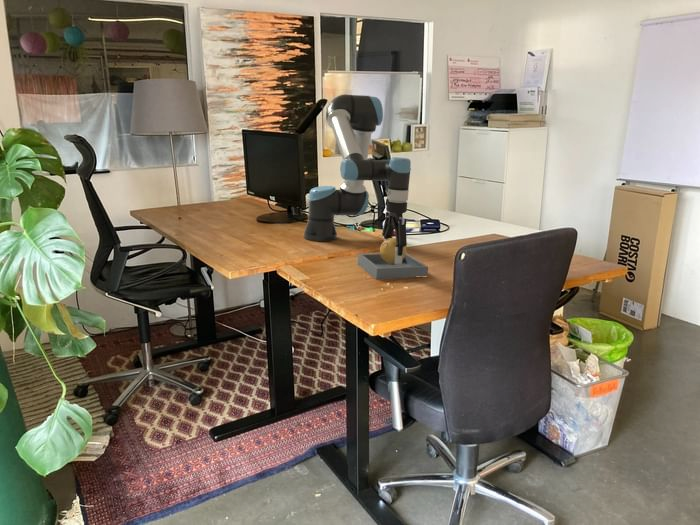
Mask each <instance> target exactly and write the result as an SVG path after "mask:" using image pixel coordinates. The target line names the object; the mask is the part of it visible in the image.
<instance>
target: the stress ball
mask: <svg viewBox="0 0 700 525" xmlns="http://www.w3.org/2000/svg"><path fill="white" fill-rule="evenodd" d="M396 245H397V242H396V237H392V238H388V239H386V240H385V241H384V240H383V242H381V244H380V248H379V253H380V255H381V257H382V259H383V260H384V261H385V262H387V263H388V264H390V265H396V264H394V260H395V248H396V247H395V246H396ZM406 253H407V246H404V247H403V256H402V260H403V259H404V258H405V256H406Z"/></svg>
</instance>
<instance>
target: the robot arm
mask: <svg viewBox="0 0 700 525" xmlns="http://www.w3.org/2000/svg"><path fill="white" fill-rule="evenodd" d="M382 105H383V104H382V101H381V100H380V99H379V98H378V97H376V96H371V95H362V94H361V95H359V94H358V95H357V94H346V93H345V94H340V95H338V96H336V97H334V98H333V99H332V100H331V101H330V103H329V104H328V106H327V107H326V111H325V119H326V122H327V125H328V126H329V128H330V129H332V132H333V135H334V138H335V141H336V144H337V146H338V149H339V152H340V155H341V158H342V161H341V162H340V167H339V168H340V169H339V170H340V171H339V172H340V177H341V178H342V179H343V180H344V181H343V182H342V183H341V184H340V187H339V189H337V188H336V186H333V185H321V186H316V187H313V188H311V189H310V190H309V195H308V214H307V215H308V216H307V217H308V220H307V223H306V226H305V228H304V231H303V238H304V239H306V240H308V241H314V242H333V241H336V240H337V239H338V233H337V230H336V225H335V221H334V220H335V216H352V217H354V216H362V215H363V214H364V213H366V211H367V209H368V206H369V202H370V199H369V198H370V196H369V191H367V188H366V186H365V185H364V181H371V182H372V181H377V182H379V181H380V182H387V191H386V195H387V196H386V197H387V198H386V199H387V201H386V209H385V210H386V212H385V219H384V223H383V228H382V233H381V236H383V239H384V240H383V242H384V241H385V240H386V239H388V238H393V236H392V233H393V231H395V235H396V236H395V238H396V242H397V245H396V246H395V247H396V248H395V260H394V264H402V256H403V247H404V246H406V247H407V243H408V242H407V241H408V240H407V218H404V217H403V216H404V215H403V214H405V213H407V212H408V202H407V201H408V200H409V186H410V179H411V178H410V177H411V171H412V169H411V159H410V158H406V157H398V156H394V157H393V156H392V157H391V158H390V159H380V160H379V159H377V160H376V159H368V156H369V153H370V152H369V150H370V145H371V139H372V134H373V133H375V132H376V130H377V127H378V126H381V125H382V123H383V119H384V118H383V117H384V109H383V106H382Z"/></svg>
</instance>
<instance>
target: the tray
mask: <svg viewBox="0 0 700 525" xmlns="http://www.w3.org/2000/svg"><path fill="white" fill-rule="evenodd" d="M357 257H358V258H357V265H358V266H360V267H361V268H362V270H364V271H365V272H366V273H368V274H369V275H370V276H371V277H372V278H374V279H375V280H391V279H392V280H394V279H395V280H397V279H398V278H399V279H408V278H407V277H416V276H427V277H428V273H429V266H428V265H426V264H424V263H423V262H422V261H420V260H418V259H417V258H415V257H413V256H412V255H411V254H409V253H407V252H406V256H405V258H404V259H403V260H402V264H396V265H390V264H388V263H387V262H385V261H384V260H383V259H382V257H381V255H380V252H379V253H358V255H357Z"/></svg>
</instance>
